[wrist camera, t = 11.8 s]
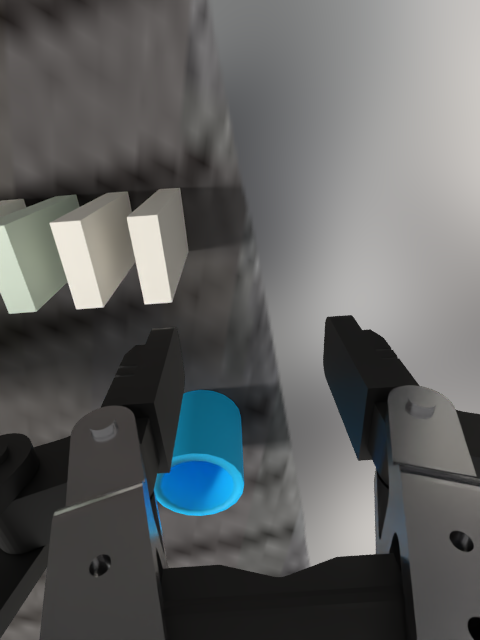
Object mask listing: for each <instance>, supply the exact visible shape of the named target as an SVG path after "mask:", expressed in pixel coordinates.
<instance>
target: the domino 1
mask: <svg viewBox="0 0 480 640" xmlns="http://www.w3.org/2000/svg"><path fill="white" fill-rule="evenodd" d="M79 207H80V206H79V203H78V199H77V195H66V196H55V197H52V198H50V199H47V200H45V201H42V202H39V203H37V204H34V205H32V206H29V207H26V208H24V209H21V210H18V211H16V212H13V213H11V214H8V215H5V216H3V217H0V293H1V295H2V298H3V300H4V302H5V305H6V307H7V310H8V312H9V314H13V313H26V312H37V311H38V310H39V309H40V308H41V307H42V306H43V305H44V304H45V303H46V302H47V301H48V300H49V299H50V298H51V297H53V296H54V295H55V294H56V293H57V292H58V291H59V290H60V289H61V288H62V287H63V286H64V285H65V284H66V283H67V282H68V281H67V278H66V275H65V272H64V268H63V265H62V262H61V259H60V255H59V252H58V249H57V246H56V243H55V239H54V236H53V233H52V230H51V226H50V222H52V221H54V220H56V219H58V218H60V217H61V216H63V215H65V214H67V213H69V212H71V211H73V210H75V209H77V208H79Z"/></svg>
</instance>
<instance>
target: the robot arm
mask: <svg viewBox="0 0 480 640" xmlns="http://www.w3.org/2000/svg"><path fill="white" fill-rule="evenodd" d="M323 365H324V372H325V377H326V380H327V382H328V385H329V387H330V390H331V392H332V395H333V397H334V400H335V403H336V405H337V408H338V410H339V413H340V415H341V418H342V420H343V423H344V425H345V428H346V431H347V433H348V436H349V438H350V441H351V443H352V446H353V448H354V451H355V453H356V456H357V458H358V460H359V461H360V460H373V462H374V464H375V466H376V471H375V478H374V493H375V531H376V554H374V555H359V556H346V557H336V558H333V559H330V560H328V561H325V562H322V563H320V564H317V565H315V566H312V567H309V568H306V569H304V570H301V571H298V572H296V573H293V574H290V575H288V576H285V577H272V576H268V575H263V574H259V573H254V572H250V571H245V570H241V569H236V568H232V567H227V566H223V565H210V566H195V567H180V568H169V567H168V562H167V556H166V551H165V545H164V540H163V534H162V528H161V523H160V517H159V512H158V506H157V500H156V495H155V491H154V487H155V482H156V477H157V474H159V473H170V469H171V463H172V457H173V451H174V445H175V440H176V434H177V428H178V422H179V416H180V410H181V404H182V398H183V393H184V386H185V374H184V366H183V360H182V354H181V348H180V342H179V336H178V331H177V328H176V327H170V328H156V329H152V330H151V332H150V334H149V337H148V339H147V342H146V345H136V346H135V347H133V348H132V349H131V350H130V351H129V352H128V353H127V354H126V355H125V356H124V358H123V360H122V362H121V364H120V368H119V369H118V371H117V373H116V378H114V380H113V382H112V384H111V386H110V388H109V391H108V393H107V395H106V397H105V399H104V401H103V404H102V406H101V408H99V409H96V410H94V411H92V412H90V413H88V414H87V415H85V416H84V417H82V418H81V419H80V420H79V421H78V422H77V423H76V425H75V426H74V428H73V430H72V432H71V436H69V437H66V438H64V439H61V440H57V441H54V442H51V443H47V444H44V445H41V446H37V447H34V448H33V445H32V443H31V441H30V439H29V438H28V437H27V436H25V435H23V434H17V433H13V434H5V435H1V436H0V638H1V637H2V635H3V633H4V632H5V630H6V629H7V627H8V626H9V624H10V623H11V621H12V620H13V618H14V617H15V615H16V614H17V612H18V611H19V609H20V607H21V606H22V604H23V603H24V601H25V600H26V598H27V597H28V595H29V594H30V592H31V591H32V589H33V588H34V586H35V584H36V583H37V581H38V580H39V578H40V577H41V575H42V574H43V572H44V571H45V569H46V568H47V573H46V582H45V592H44V601H43V611H42V620H41V630H40V639H39V640H480V414H474V413H468V412H462V411H458V410H456V409H455V407H454V406H453V404H452V402H451V401H450V400H449V399H447V398H446V397H445V396H444V395H442V394H440V393H439V392H437V391H434V390H432V389H429V388H426V387H422V386H419V385H418V383H417V382H416V381H415V379H414V378H413V377H412V375H411V374H410V373H409V371H408V370H407V369H406V367H405V366H404V365H403V363H402V362H401V361H400V359H398V358H397V355H396V354H395V353H394V351H393V350H391V347H390V346H389V345H388V343H387V342H386V341H385V339H384V338H383V337H381V336H380V335H378V334H377V333H375V332H373V331H372V330H362V329H361V328H360V326H359V325H358V323H357V322H356V320H355V319H354V317H353V316H351V315H348V316H335V317H334V316H333V317H327V319H326V322H325V337H324V355H323Z"/></svg>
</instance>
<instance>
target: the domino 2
mask: <svg viewBox="0 0 480 640" xmlns="http://www.w3.org/2000/svg"><path fill="white" fill-rule="evenodd" d="M131 213H132V209H131V204H130V200H129V195H128V191H127V192H113V193H106V194H104V195H102V196H100V197H98V198H96V199H94V200H92V201H90V202H88V203H87V204H85V205H83V206H81V207H79V208H77V209H75V210H73V211H71V212H69V213H67V214H65V215H63V216H61V217H60V218H58V219H56V220H54V221H52V222H50V226H51V230H52V233H53V236H54V239H55V243H56V246H57V249H58V252H59V255H60V259H61V262H62V265H63V268H64V272H65V275H66V278H67V281H68V284H69V288H70V291H71V294H72V297H73V301H74V304H75V307H76V309H88V308H102V307H104V306H105V305H106V303H107V302H108V300H109V299H110V298H111V296H112V295H113V293H114V292H115V290H116V289H117V288H118V286H119V285H120V283H121V282H122V280H123V279H124V278H125V276H126V275H127V273H128V272H129V270H130V269H131V268H132V266H133V265H134V263H135V262H136V260H135V256H134V251H133V246H132V241H131V236H130V232H129V227H128V222H127V216H128V215H129V214H131Z"/></svg>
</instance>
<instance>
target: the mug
mask: <svg viewBox="0 0 480 640" xmlns="http://www.w3.org/2000/svg"><path fill="white" fill-rule="evenodd" d="M243 488H244V470H243V448H242V425H241V415H240V412H239V409H238V407H237V406H236V405H235V403H234V402H233V401H232V400H231V399H229V398H228V397H226V396H225V395H223V394H221V393H218V392H215V391H210V390H195V391H190V392H186V393H184V394H183V398H182V404H181V410H180V416H179V422H178V428H177V434H176V440H175V445H174V451H173V457H172V463H171V469H170V473H159V474H157V477H156V482H155V487H154V491H155V495H156V500H157V501H159V502H160V503H161V504H162V505H163V506H164V507H166V508H168V509H170V510H172V511H174V512H177V513H181V514H185V515H196V516H203V515H210V514H215V513H218V512H221V511H223V510H226V509H228V508H229V507H231V506H232V505H233V504H235V503H236V502H237V501H238V499H239V498H240V496H241V495H242V493H243Z"/></svg>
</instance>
